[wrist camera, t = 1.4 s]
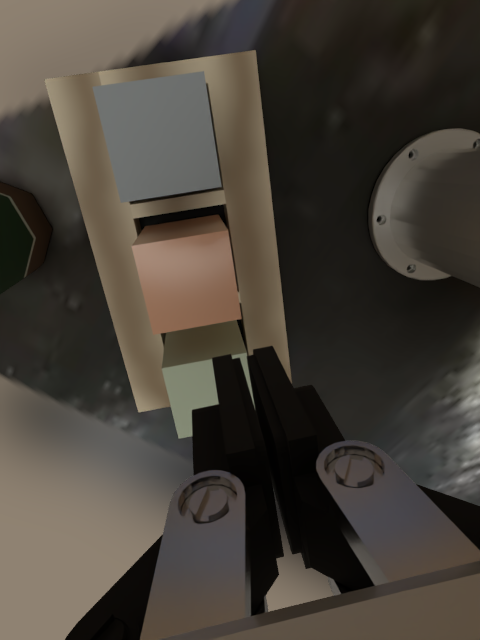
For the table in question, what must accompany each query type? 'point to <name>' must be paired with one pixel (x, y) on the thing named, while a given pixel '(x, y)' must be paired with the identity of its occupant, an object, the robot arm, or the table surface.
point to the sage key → (198, 368)
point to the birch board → (178, 208)
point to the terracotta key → (187, 274)
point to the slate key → (159, 135)
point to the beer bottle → (20, 235)
